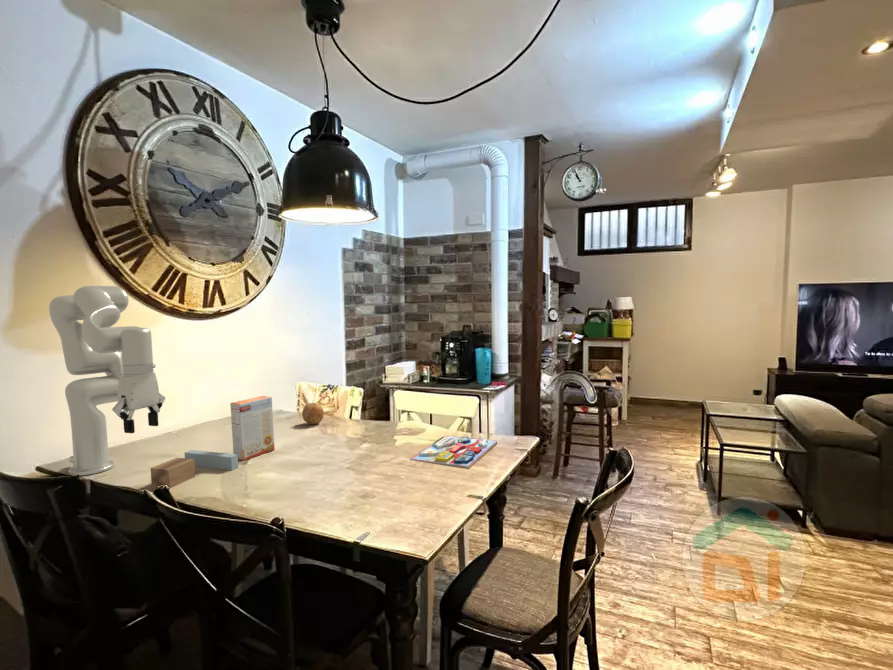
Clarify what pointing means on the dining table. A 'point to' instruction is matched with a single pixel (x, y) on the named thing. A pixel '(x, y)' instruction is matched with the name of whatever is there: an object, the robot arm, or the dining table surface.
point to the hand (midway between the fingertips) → (141, 428)
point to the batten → (213, 459)
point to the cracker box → (252, 427)
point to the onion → (313, 413)
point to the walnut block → (173, 472)
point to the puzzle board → (455, 451)
